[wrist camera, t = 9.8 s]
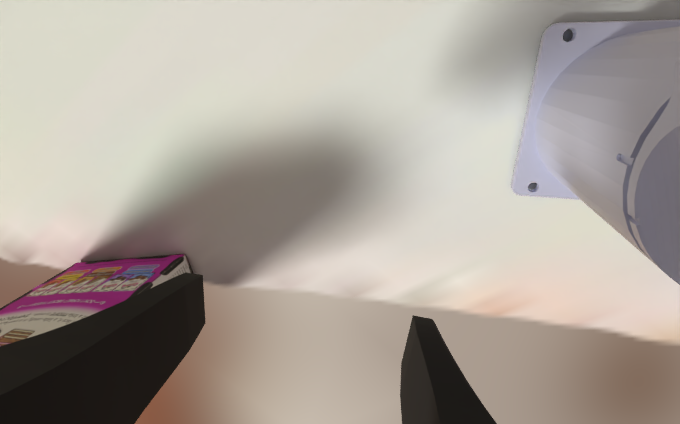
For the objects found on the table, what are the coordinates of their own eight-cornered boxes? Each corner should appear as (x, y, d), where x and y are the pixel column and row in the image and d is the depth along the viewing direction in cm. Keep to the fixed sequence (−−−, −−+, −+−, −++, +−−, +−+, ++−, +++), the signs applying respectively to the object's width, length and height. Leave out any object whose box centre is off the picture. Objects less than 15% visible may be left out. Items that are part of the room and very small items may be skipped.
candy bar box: (103, 309, 30) (-198, 540, 16) (77, 260, 28) (-290, 470, 14) (210, 306, 27) (-40, 592, 12) (188, 251, 25) (-134, 509, 11)
